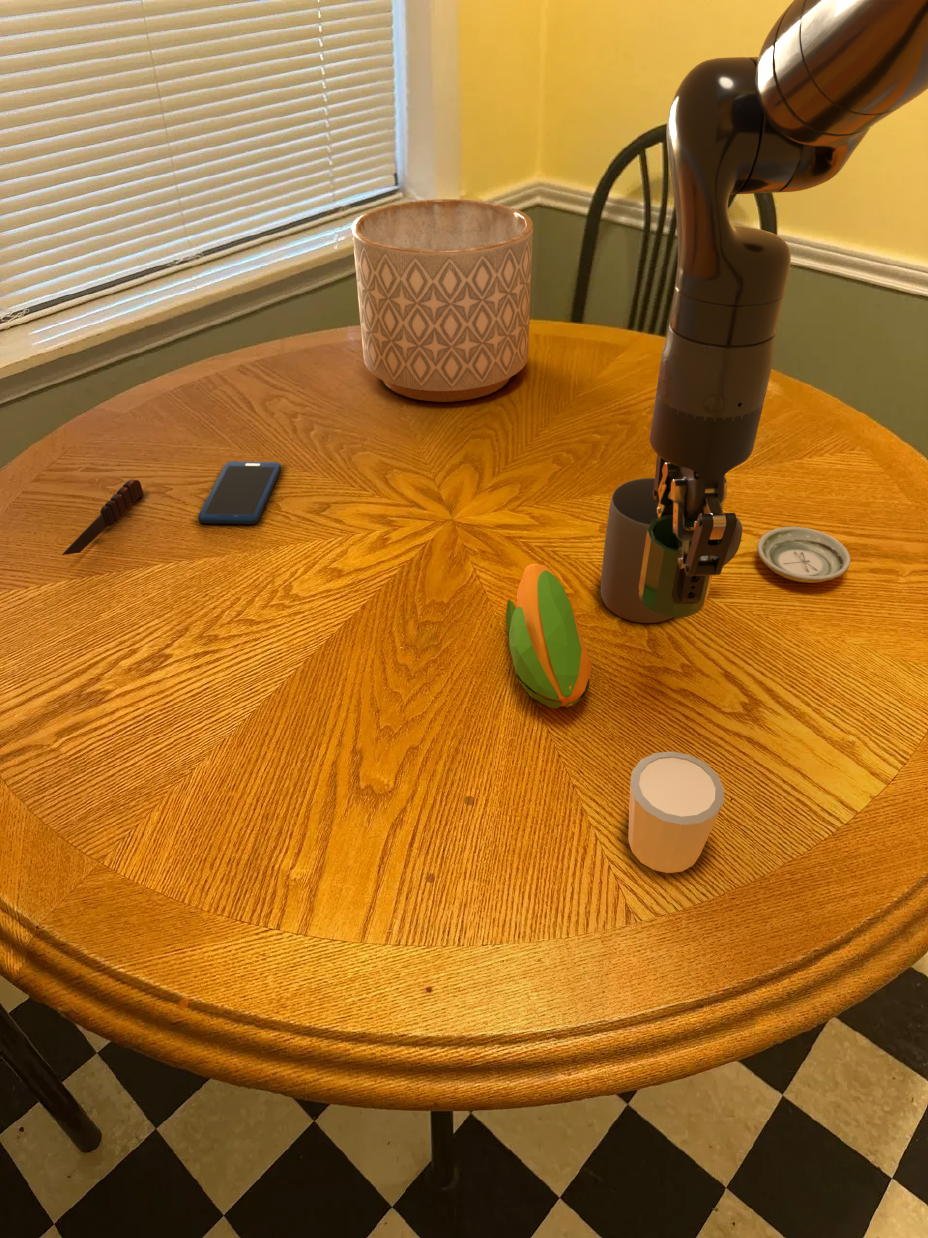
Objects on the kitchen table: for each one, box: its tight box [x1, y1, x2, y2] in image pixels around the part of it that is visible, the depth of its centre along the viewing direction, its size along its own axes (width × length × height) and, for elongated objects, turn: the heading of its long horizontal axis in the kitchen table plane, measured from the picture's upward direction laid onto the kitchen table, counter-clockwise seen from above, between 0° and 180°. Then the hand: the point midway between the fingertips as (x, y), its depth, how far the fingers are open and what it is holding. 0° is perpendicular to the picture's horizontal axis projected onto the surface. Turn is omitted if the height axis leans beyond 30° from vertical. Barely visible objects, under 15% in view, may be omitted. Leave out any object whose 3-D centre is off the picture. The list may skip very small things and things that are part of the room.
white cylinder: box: [627, 750, 725, 874], centre depth 66 cm, size 7×7×7 cm
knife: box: [61, 478, 144, 556], centre depth 101 cm, size 17×1×3 cm, turn 168°
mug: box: [600, 477, 743, 624], centre depth 88 cm, size 14×9×12 cm
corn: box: [505, 563, 593, 709], centre depth 83 cm, size 7×8×20 cm
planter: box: [351, 198, 534, 403], centre depth 128 cm, size 26×26×22 cm
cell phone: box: [197, 460, 282, 525], centre depth 108 cm, size 7×14×1 cm, turn 177°
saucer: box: [756, 526, 851, 584], centre depth 94 cm, size 10×10×2 cm
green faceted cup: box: [639, 514, 713, 618], centre depth 71 cm, size 6×6×6 cm
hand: (676, 577), depth 72 cm, fingers closed on green faceted cup, 5 cm apart
